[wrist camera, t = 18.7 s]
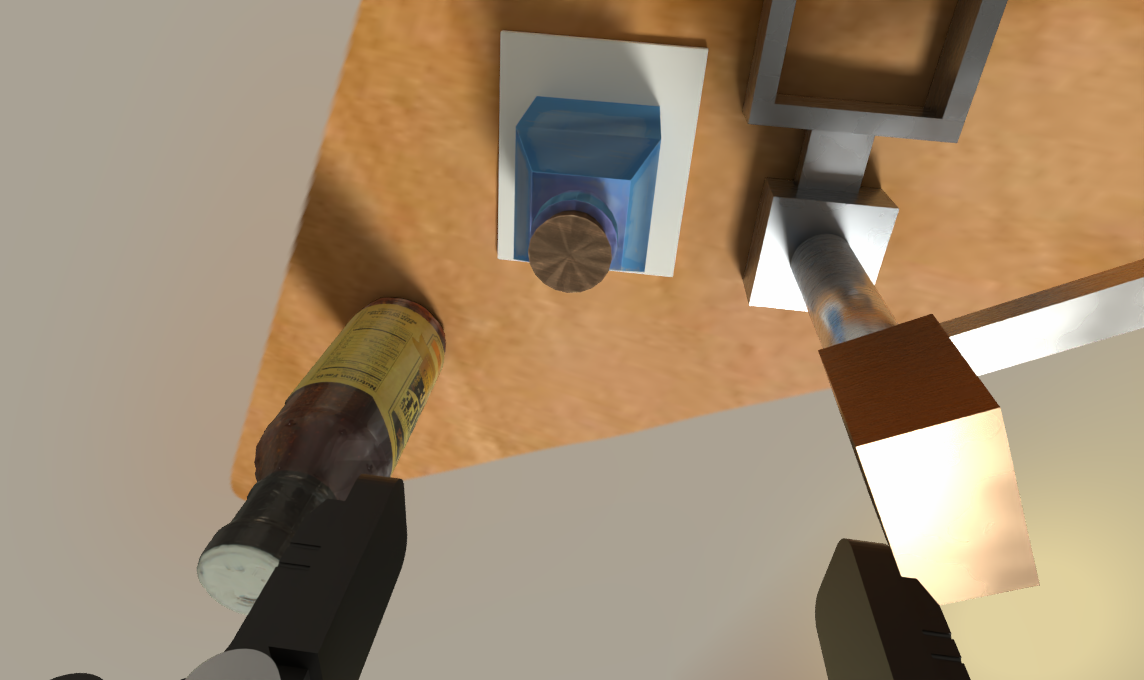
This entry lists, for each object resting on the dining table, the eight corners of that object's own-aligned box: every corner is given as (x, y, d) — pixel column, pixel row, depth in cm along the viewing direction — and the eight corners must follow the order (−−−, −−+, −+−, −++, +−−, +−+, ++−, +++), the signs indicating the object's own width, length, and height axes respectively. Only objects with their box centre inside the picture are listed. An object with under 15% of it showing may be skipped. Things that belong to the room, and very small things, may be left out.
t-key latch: (1080, 92, 30) (1525, 263, 15) (1097, 233, 33) (1482, 496, 18) (764, 214, 34) (855, 447, 19) (805, 329, 37) (913, 610, 22)
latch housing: (785, -118, 30) (798, -122, 27) (1015, -101, 29) (1050, -104, 27) (710, 277, 39) (715, 301, 37) (882, 294, 39) (898, 320, 36)
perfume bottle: (660, 106, 34) (663, 182, 24) (645, 223, 38) (643, 334, 27) (536, 95, 35) (488, 166, 24) (532, 213, 38) (488, 318, 28)
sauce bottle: (424, 392, 46) (289, 667, 29) (339, 344, 44) (144, 602, 27) (471, 321, 42) (350, 583, 25) (380, 267, 41) (189, 505, 24)
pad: (502, 30, 34) (500, 31, 33) (707, 48, 33) (708, 49, 33) (499, 255, 40) (497, 258, 40) (672, 273, 39) (672, 276, 39)
